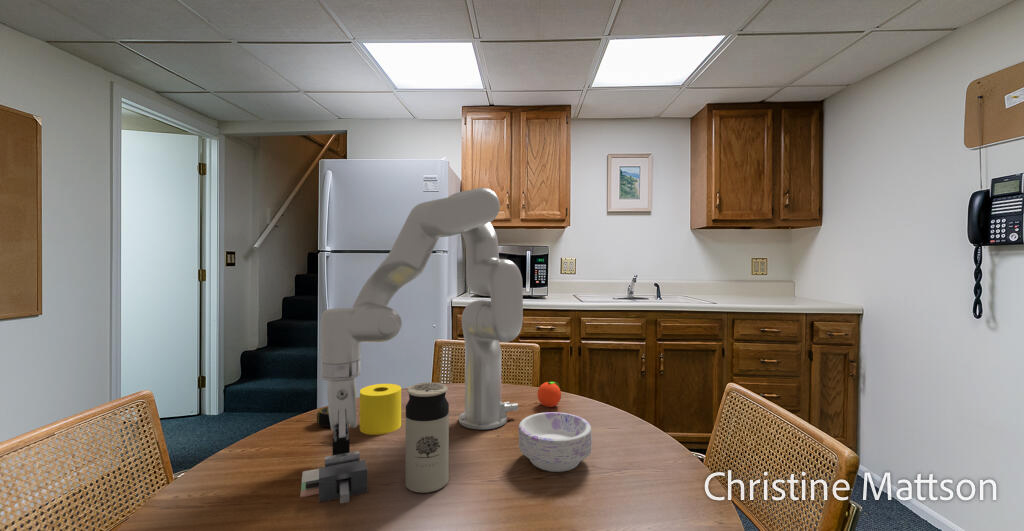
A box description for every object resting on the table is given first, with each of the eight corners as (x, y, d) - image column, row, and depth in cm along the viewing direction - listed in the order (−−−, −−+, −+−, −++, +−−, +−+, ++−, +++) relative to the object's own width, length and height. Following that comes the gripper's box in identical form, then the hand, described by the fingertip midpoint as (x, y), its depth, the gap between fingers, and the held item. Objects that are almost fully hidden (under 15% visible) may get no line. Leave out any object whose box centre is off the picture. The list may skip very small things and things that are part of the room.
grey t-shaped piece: (359, 476, 81) (359, 450, 81) (363, 504, 71) (363, 475, 71) (305, 487, 77) (305, 459, 77) (303, 518, 67) (303, 487, 67)
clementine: (550, 399, 127) (550, 376, 127) (568, 405, 122) (568, 381, 122) (532, 406, 122) (532, 381, 122) (550, 412, 116) (550, 386, 116)
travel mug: (412, 471, 83) (412, 381, 83) (451, 472, 83) (452, 382, 83) (400, 493, 75) (400, 394, 75) (444, 494, 75) (444, 394, 75)
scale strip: (321, 469, 84) (321, 468, 84) (321, 493, 75) (321, 492, 75) (302, 472, 83) (302, 471, 83) (300, 497, 74) (300, 496, 74)
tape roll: (406, 428, 105) (407, 391, 105) (366, 438, 99) (366, 398, 99) (393, 416, 113) (393, 381, 113) (355, 424, 107) (355, 387, 107)
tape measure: (344, 427, 106) (344, 412, 105) (314, 430, 103) (314, 415, 103) (346, 417, 112) (346, 404, 112) (318, 420, 110) (318, 406, 110)
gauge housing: (365, 481, 79) (365, 459, 79) (367, 492, 76) (367, 469, 76) (318, 490, 76) (319, 467, 76) (318, 502, 72) (318, 478, 72)
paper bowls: (507, 471, 84) (507, 432, 83) (532, 441, 98) (532, 407, 98) (583, 487, 78) (583, 444, 78) (597, 452, 92) (597, 416, 92)
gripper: (363, 375, 80) (363, 470, 81) (357, 359, 94) (357, 440, 94) (321, 380, 77) (321, 479, 77) (320, 362, 91) (320, 446, 91)
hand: (341, 457), depth 86 cm, fingers closed
